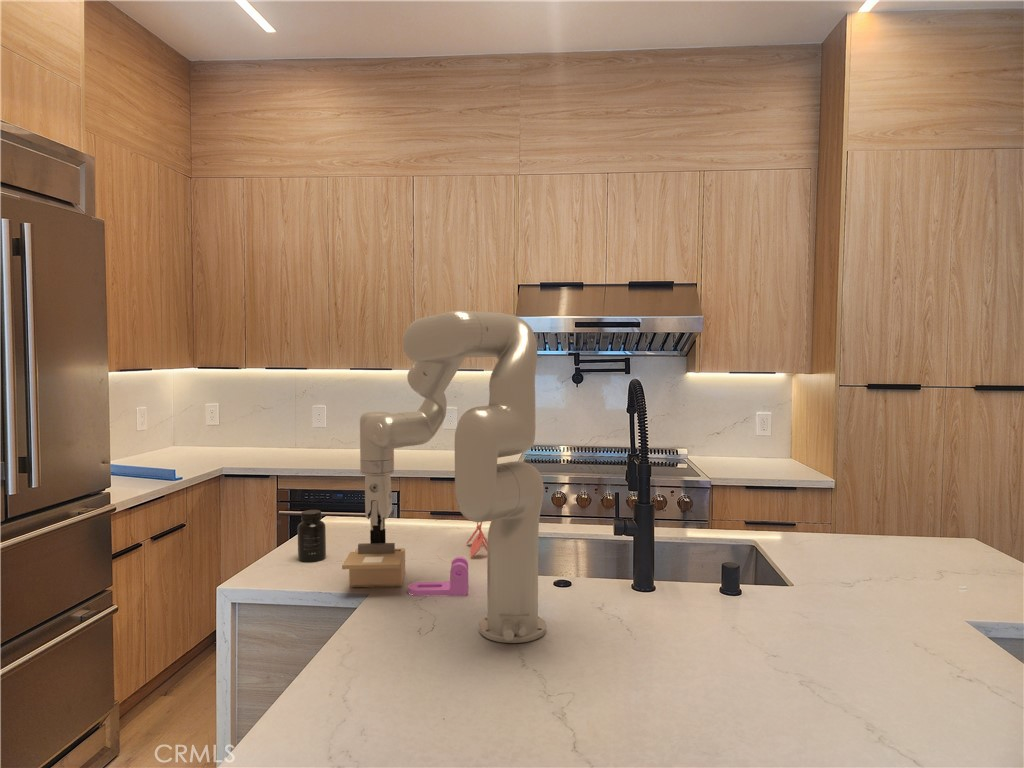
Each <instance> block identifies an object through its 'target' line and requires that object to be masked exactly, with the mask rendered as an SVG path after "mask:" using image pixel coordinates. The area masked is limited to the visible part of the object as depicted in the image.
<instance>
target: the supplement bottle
mask: <svg viewBox="0 0 1024 768" xmlns="http://www.w3.org/2000/svg"><path fill="white" fill-rule="evenodd" d="M300 514H301V518H300V519H301V522H300V523H298V525H297V557H298V560H299V561H300V562H304V563H314V562H320V561H323V560H324V559H325V558H326V557H327V543H326V542H327V541H326V540H327V539H326V536H327V535H326V524H325V522H324V521H323V520H321V519H322V511H321V510H319V509H308V510H303V511H302V512H301V513H300Z"/></svg>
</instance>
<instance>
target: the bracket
mask: <svg viewBox="0 0 1024 768" xmlns="http://www.w3.org/2000/svg"><path fill="white" fill-rule="evenodd" d="M449 571H450V572H449V573H450V574H449V579H450V580H449V581H448V580H447V581H446V580H445V581H417V582H416V581H415V582H412V583H410V584H408V586H407V593H408V592H409V593H410V594H413V595H468V594H469V562H468V559H467V558H465V556H457V557H454V559H453V560H452V561H451V567H450V570H449ZM409 593H408V594H409ZM410 594H409V595H410ZM413 595H412V596H413Z"/></svg>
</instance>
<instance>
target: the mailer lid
mask: <svg viewBox="0 0 1024 768" xmlns="http://www.w3.org/2000/svg"><path fill="white" fill-rule="evenodd" d="M395 544H396V543H395V542H386V543H369V542H367V543H366V542H365V543H358V544H357V549H358V552H355V551H350V552H349V554H348V555H347V556H346V558H345V560H344V561H343V563H342V565H341V570H349V569H379V568H400V565H401V562H402V559H403V556H404V551H395V547H396V545H395Z"/></svg>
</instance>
